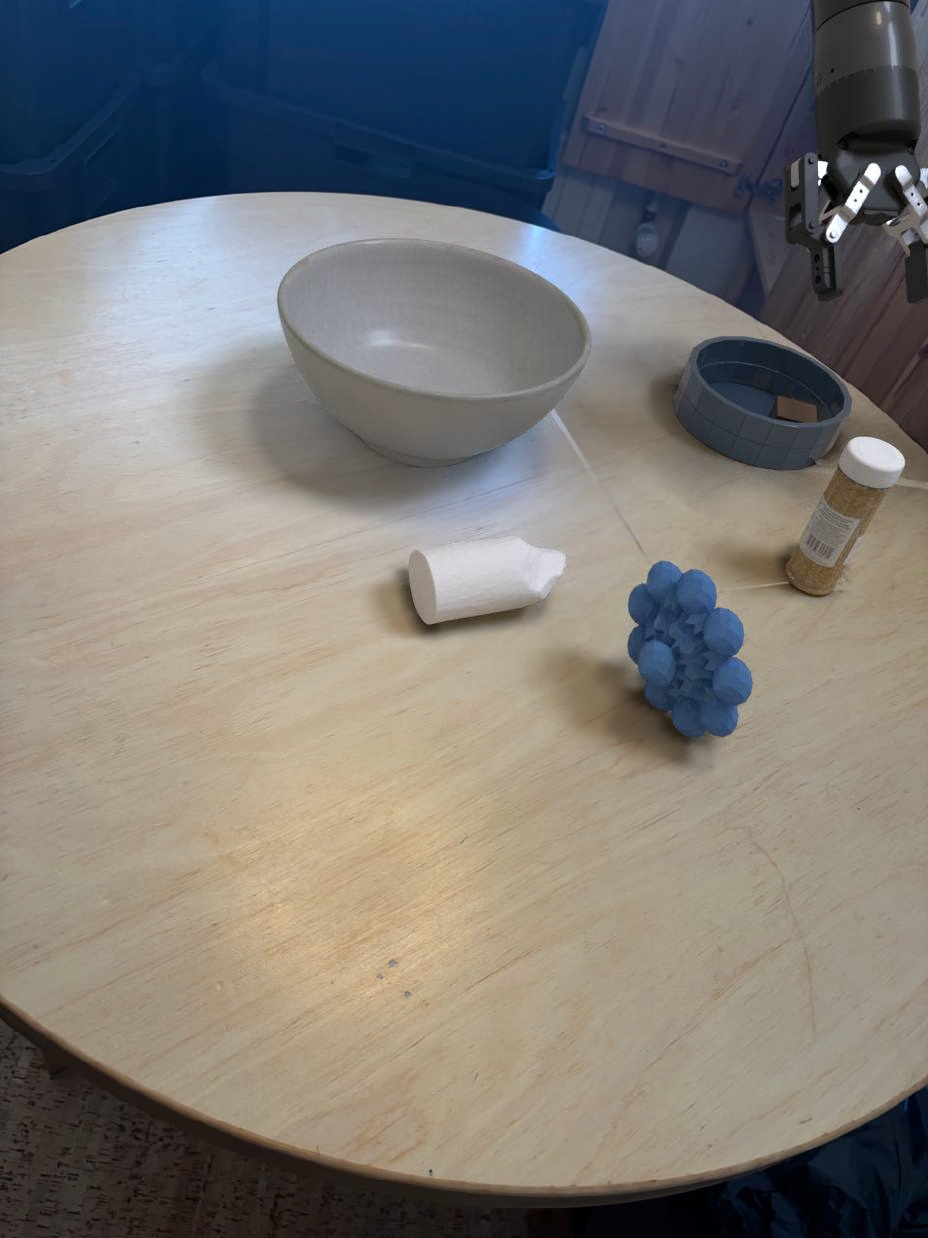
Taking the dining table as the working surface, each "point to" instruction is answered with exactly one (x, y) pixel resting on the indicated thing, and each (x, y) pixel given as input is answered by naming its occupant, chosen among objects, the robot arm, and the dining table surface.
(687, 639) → the blue knobbly ring
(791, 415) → the block
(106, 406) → the dining table surface
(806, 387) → the bowl
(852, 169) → the robot arm
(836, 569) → the sprinkles bottle
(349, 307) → the decorative bowl
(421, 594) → the white bottle
